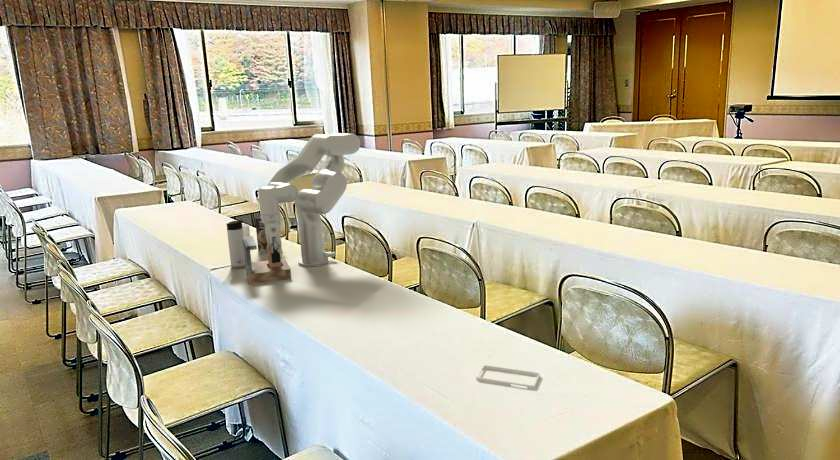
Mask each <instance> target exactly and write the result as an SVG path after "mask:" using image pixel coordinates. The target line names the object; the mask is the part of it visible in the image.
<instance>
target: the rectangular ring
mask: <svg viewBox="0 0 840 460" xmlns="http://www.w3.org/2000/svg"><path fill="white" fill-rule="evenodd" d="M486 369H487V370H494V371H499V372H500V371H501V372H507V373H514V374H522V375H526V376H528V375H529V376H534V377H536V379H535V382H534V384H526V383H520V382H513V381H505V380H500V379H493V378H486V377H479V376H480V374H481V373H482V371H484V370H486ZM540 377H541V373H539V372H536V371H535V372H534V371H529V370H524V369H523V370H522V369H515V368H509V367H502V366H501V367H500V366H494V365H488V364H487V365H486V364H484V365H482V366H481V368H480V370H479V372H478V373H477V375H476V376H475V380H476V381H479V382H483V383H484V382H485V383H491V384H495V385H496V384H497V385H505V386H511V385H512V386H513V385H515V386H522V387H526V388H527V389H530V390H534V389H536V388H537V387H536V386H537V385H538V382H539V380H540Z"/></svg>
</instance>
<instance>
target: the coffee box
mask: <svg viewBox="0 0 840 460" xmlns="http://www.w3.org/2000/svg"><path fill="white" fill-rule="evenodd" d="M254 219H255V220H254V221H255V231H256V240H257V250H258V251H257V252H258V253H261V254H262V253H264V254H268V252H267V245H268V243H267V239H266V233H265V223H262V222H261V215H260V216H258V217H255V218H254ZM278 223H279V228H280V229H281V221H279V222H278ZM281 234H282V233H281V232H280V236H281ZM281 237H282V236H281ZM282 250H283V248H282V246H280V252H281V251H282Z"/></svg>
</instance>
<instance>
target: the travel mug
mask: <svg viewBox="0 0 840 460" xmlns="http://www.w3.org/2000/svg"><path fill="white" fill-rule="evenodd" d="M242 224H243V220H232V221H228V223H226V231H227V241H228V250H229V257H230V259H229V261H230V268H231V269H234V270H241V269H244V268H246V267H245V257H244V248H243V238H242V237H244V236H243V228H242Z"/></svg>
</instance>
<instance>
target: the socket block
mask: <svg viewBox="0 0 840 460" xmlns="http://www.w3.org/2000/svg"><path fill="white" fill-rule="evenodd" d="M242 238H243V248H244V257H245V267H244V268H245V273H246V277H247V280H248V285H255V284H260V283H261V284H262V283H269V282H277V281H283V280H291V279H292V271H291V267H290V265H289V263H288V262H287V259H286V258H281V267H273V268H269V263H268V260H262V261H260V260H259V261H254V262H252V258H251V257H252V256H251V255H252V254H251V251H255V250H258V245H257V244H256V242H255V239H254V236H253V235H250V236H249V237H242Z"/></svg>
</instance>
